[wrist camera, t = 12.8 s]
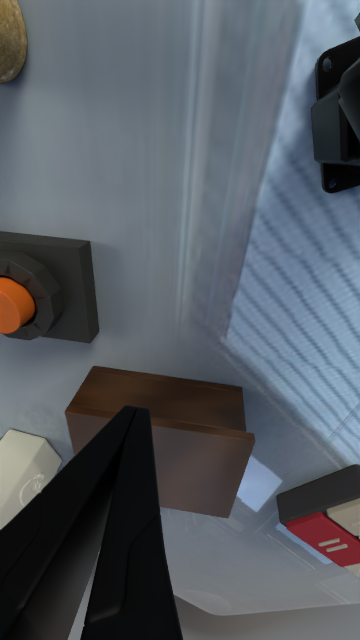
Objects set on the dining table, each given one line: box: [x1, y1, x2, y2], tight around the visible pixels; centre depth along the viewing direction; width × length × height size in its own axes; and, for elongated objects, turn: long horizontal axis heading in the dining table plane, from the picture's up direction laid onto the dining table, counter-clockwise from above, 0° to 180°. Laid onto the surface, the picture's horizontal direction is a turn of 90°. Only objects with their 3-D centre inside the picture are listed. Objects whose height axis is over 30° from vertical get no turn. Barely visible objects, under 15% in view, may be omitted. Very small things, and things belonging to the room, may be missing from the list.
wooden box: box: [69, 366, 246, 432], centre depth 27 cm, size 14×12×5 cm
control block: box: [0, 231, 99, 343], centre depth 21 cm, size 10×8×4 cm
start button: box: [0, 277, 35, 334], centre depth 19 cm, size 4×4×2 cm
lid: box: [65, 405, 255, 518], centre depth 24 cm, size 15×12×1 cm
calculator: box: [277, 465, 360, 579], centre depth 31 cm, size 11×4×15 cm
